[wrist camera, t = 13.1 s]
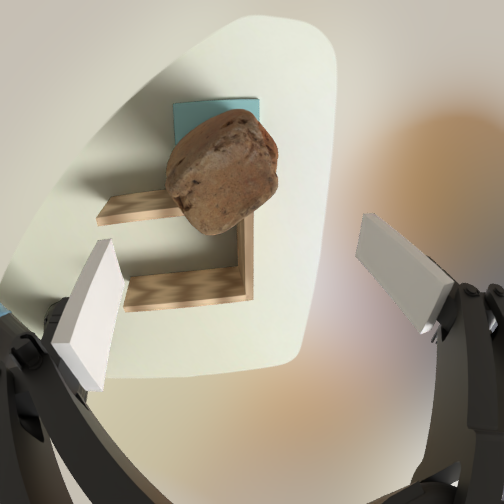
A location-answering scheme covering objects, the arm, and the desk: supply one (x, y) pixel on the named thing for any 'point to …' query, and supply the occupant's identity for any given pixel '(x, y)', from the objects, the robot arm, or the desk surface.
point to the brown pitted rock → (222, 171)
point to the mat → (206, 113)
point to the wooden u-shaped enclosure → (181, 283)
